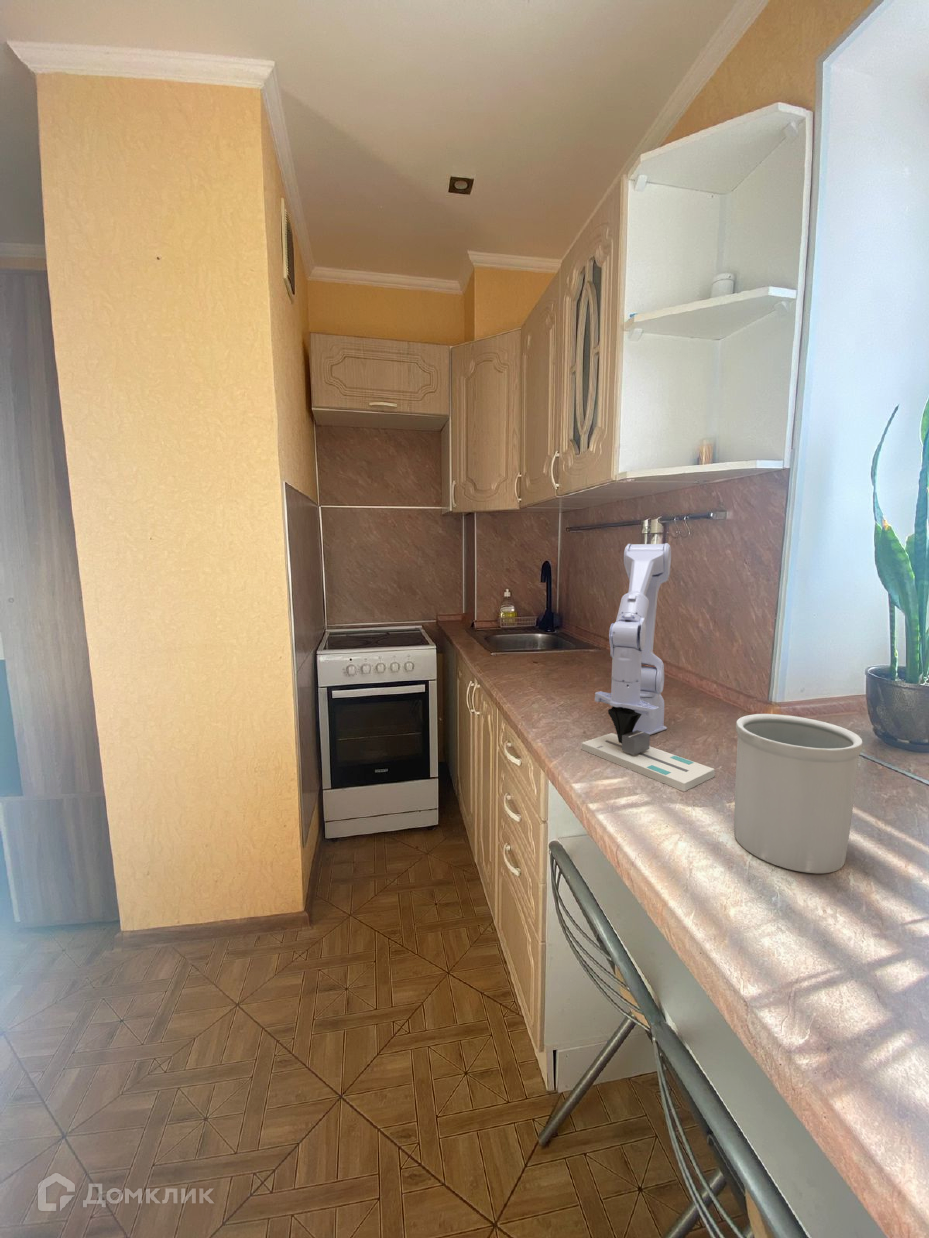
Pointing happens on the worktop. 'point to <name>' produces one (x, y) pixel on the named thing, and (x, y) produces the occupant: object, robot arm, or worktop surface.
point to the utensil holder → (795, 790)
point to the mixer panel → (651, 763)
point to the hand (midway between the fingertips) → (624, 742)
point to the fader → (635, 742)
